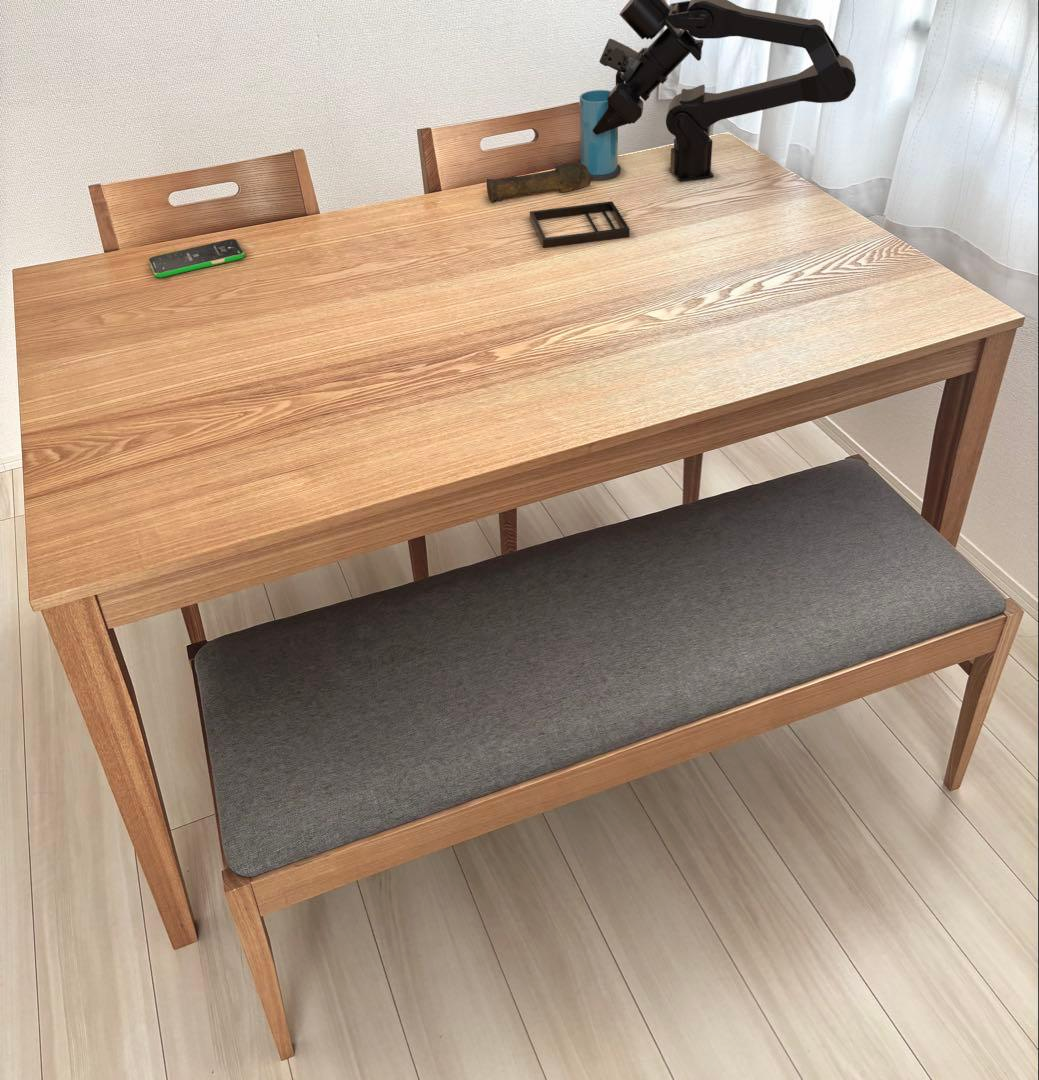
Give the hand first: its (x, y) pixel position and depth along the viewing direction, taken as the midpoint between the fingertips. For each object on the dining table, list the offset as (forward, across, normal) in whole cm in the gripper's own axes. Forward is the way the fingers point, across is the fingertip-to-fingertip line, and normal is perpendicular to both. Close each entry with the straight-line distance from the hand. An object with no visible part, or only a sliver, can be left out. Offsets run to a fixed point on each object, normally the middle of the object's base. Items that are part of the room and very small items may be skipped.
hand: (597, 123), depth 190 cm
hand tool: (+13, +10, 0) cm, 17 cm away
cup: (+6, 0, +6) cm, 8 cm away
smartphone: (+50, +42, -38) cm, 75 cm away
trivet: (+6, 0, +6) cm, 9 cm away
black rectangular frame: (+6, +25, +6) cm, 26 cm away
